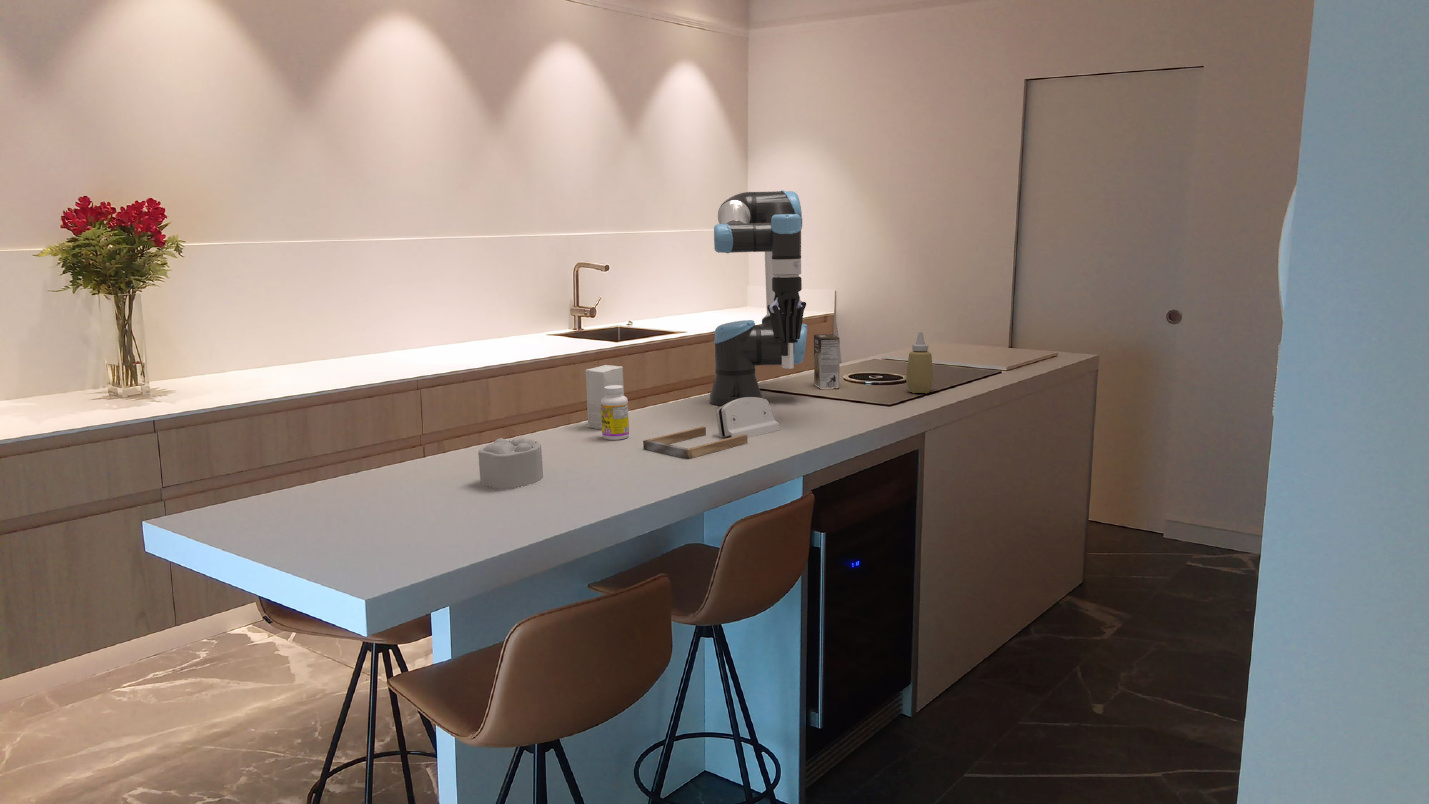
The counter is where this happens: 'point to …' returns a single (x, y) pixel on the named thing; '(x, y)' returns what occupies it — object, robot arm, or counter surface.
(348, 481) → the counter surface
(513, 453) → the lumpy-topped squat cylinder
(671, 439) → the frame
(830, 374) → the coffee box
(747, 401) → the grey piece
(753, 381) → the robot arm
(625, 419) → the supplement bottle
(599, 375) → the skincare box
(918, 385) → the squeeze bottle
